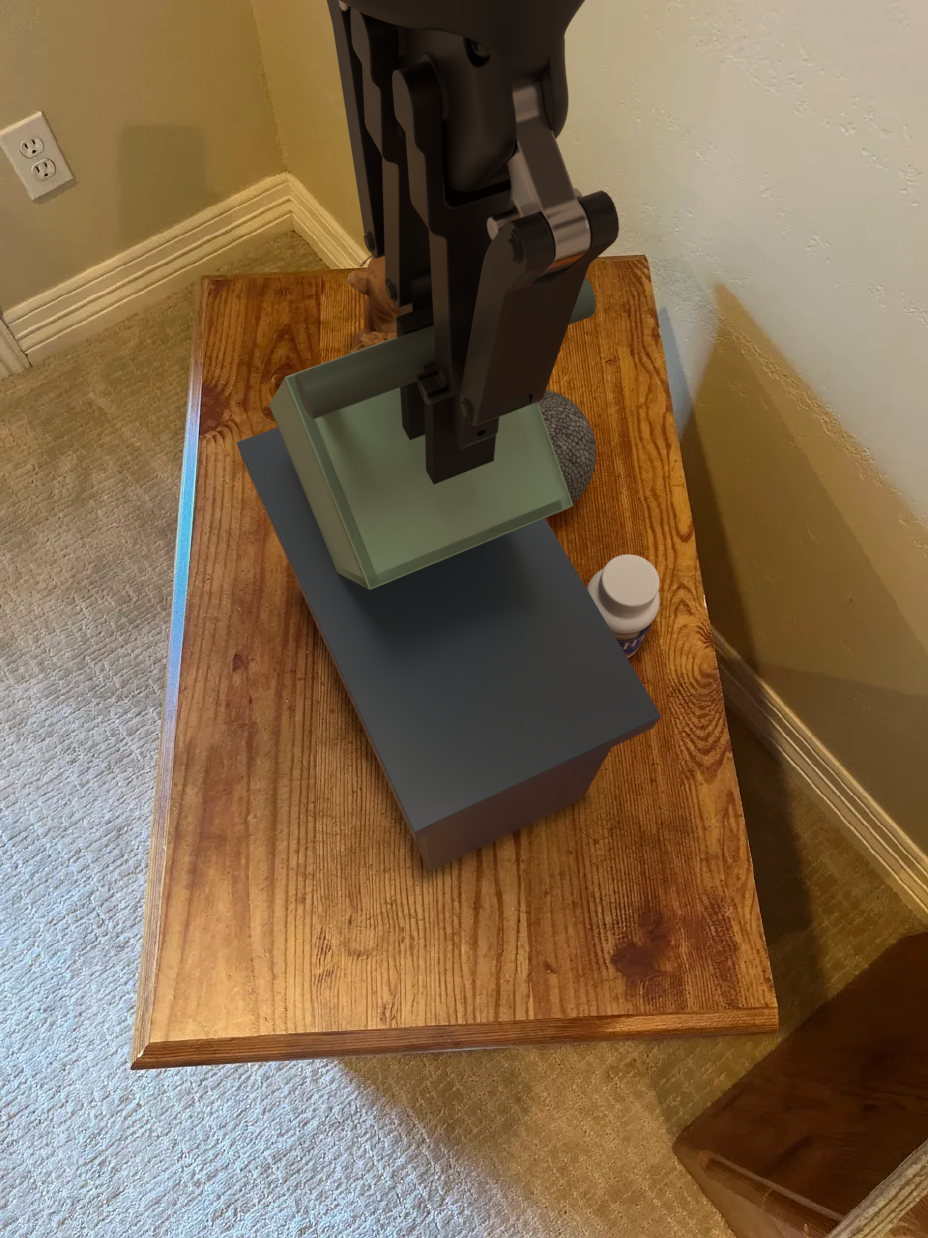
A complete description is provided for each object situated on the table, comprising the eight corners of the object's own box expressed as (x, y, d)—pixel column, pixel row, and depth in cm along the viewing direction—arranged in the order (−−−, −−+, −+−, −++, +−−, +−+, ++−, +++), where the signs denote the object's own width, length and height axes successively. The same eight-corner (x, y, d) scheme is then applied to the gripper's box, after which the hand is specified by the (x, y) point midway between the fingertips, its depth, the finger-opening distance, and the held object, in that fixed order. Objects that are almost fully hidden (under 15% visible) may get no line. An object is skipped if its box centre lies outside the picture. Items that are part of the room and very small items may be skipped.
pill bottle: (598, 675, 71) (619, 628, 63) (561, 620, 73) (576, 566, 65) (656, 643, 72) (684, 592, 64) (618, 589, 74) (640, 533, 66)
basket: (662, 501, 35) (580, 247, 33) (392, 614, 33) (288, 350, 31) (509, 502, 53) (450, 338, 52) (328, 576, 51) (259, 407, 49)
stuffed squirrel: (470, 333, 84) (475, 214, 72) (453, 467, 78) (455, 362, 66) (359, 322, 84) (345, 202, 72) (333, 455, 79) (314, 348, 66)
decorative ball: (594, 538, 76) (616, 469, 67) (470, 547, 75) (474, 478, 66) (577, 434, 80) (594, 355, 71) (459, 442, 79) (461, 363, 70)
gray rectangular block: (601, 805, 67) (662, 716, 49) (421, 893, 64) (413, 833, 46) (450, 525, 76) (454, 361, 58) (286, 591, 73) (236, 441, 55)
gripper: (138, -430, 19) (296, 344, 41) (442, -3, 14) (440, 627, 36) (469, -488, 21) (453, 288, 42) (856, -120, 16) (614, 553, 37)
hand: (447, 442), depth 39 cm, fingers closed on basket, 2 cm apart
